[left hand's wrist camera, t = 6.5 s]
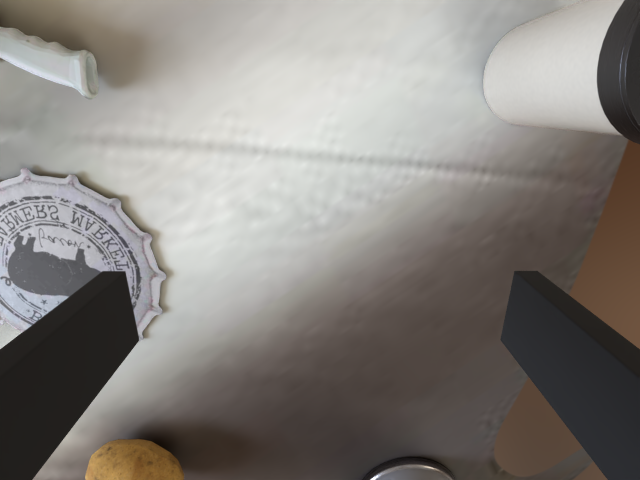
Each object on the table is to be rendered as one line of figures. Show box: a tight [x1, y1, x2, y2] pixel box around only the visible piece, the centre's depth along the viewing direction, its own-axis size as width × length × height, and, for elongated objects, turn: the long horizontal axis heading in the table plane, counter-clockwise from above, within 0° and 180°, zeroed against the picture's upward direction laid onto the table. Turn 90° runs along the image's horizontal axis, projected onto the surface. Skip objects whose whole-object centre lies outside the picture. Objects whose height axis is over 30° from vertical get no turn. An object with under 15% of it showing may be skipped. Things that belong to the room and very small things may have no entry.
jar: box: [483, 0, 624, 136], centre depth 27 cm, size 9×9×18 cm
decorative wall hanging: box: [0, 168, 166, 341], centre depth 44 cm, size 24×1×30 cm
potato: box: [85, 439, 184, 480], centre depth 49 cm, size 9×13×7 cm
